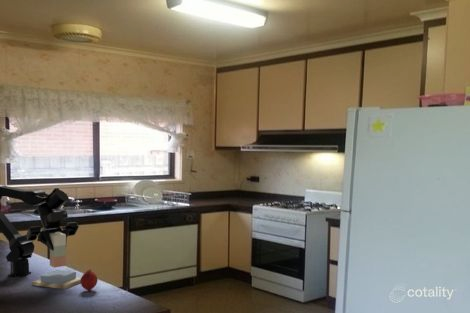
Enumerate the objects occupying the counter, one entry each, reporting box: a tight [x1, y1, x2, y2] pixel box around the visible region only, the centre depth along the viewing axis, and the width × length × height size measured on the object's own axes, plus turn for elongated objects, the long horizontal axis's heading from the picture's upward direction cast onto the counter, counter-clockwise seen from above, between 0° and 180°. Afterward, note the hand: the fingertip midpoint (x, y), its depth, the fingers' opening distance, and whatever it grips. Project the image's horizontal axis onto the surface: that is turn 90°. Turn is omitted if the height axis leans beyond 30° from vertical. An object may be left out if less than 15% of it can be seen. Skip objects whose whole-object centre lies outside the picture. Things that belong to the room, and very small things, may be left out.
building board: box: [31, 276, 82, 290], centre depth 180 cm, size 15×11×1 cm
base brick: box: [40, 269, 77, 284], centre depth 180 cm, size 9×9×2 cm
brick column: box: [49, 232, 67, 269], centre depth 179 cm, size 4×4×13 cm
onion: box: [80, 268, 98, 292], centre depth 170 cm, size 6×6×8 cm
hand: (59, 248), depth 178 cm, fingers closed on brick column, 4 cm apart
